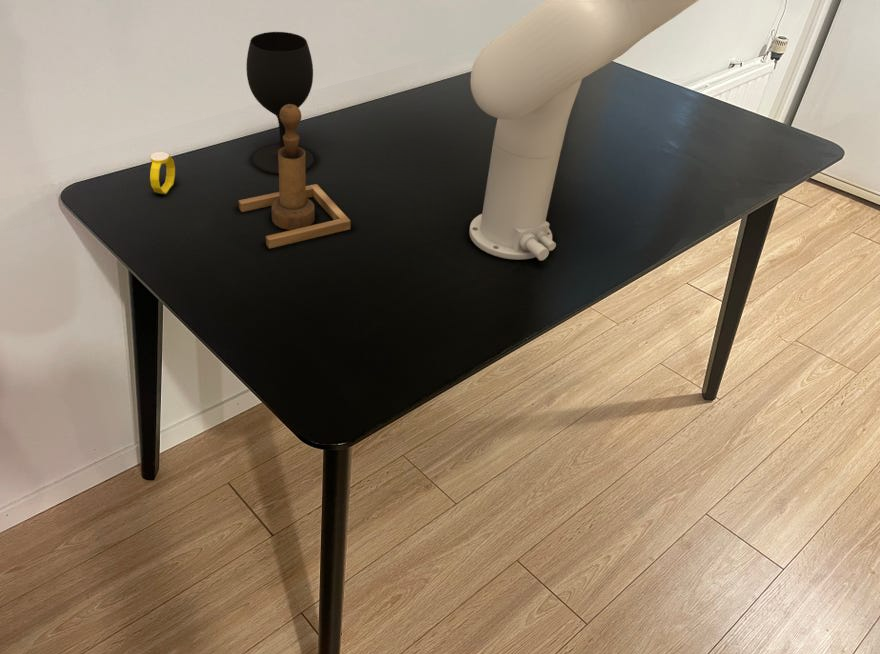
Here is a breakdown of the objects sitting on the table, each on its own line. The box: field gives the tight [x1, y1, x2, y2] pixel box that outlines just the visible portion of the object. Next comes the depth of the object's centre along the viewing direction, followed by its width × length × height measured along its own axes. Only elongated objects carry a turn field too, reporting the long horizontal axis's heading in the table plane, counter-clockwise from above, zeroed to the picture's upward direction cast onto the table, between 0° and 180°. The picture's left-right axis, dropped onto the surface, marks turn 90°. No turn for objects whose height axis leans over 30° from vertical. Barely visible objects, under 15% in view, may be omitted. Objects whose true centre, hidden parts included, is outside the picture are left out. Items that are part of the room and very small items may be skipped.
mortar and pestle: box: [271, 104, 316, 231], centre depth 113 cm, size 7×6×18 cm
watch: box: [149, 151, 176, 195], centre depth 121 cm, size 6×3×6 cm, turn 169°
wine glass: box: [245, 31, 315, 176], centre depth 126 cm, size 10×10×20 cm
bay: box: [238, 183, 352, 249], centre depth 119 cm, size 12×13×2 cm
